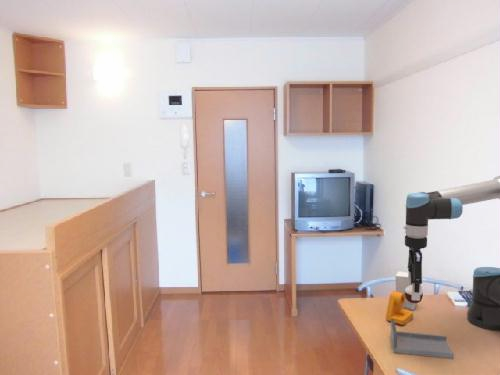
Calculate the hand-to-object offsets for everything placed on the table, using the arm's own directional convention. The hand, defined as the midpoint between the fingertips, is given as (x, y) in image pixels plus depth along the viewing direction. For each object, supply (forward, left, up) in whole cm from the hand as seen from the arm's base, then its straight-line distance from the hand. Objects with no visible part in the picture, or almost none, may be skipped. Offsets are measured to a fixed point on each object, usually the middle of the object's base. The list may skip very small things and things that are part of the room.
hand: (413, 294), depth 145 cm
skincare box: (-2, -35, -21) cm, 40 cm away
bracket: (+2, -21, -21) cm, 29 cm away
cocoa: (0, 0, -3) cm, 3 cm away
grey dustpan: (-3, 0, -20) cm, 21 cm away
